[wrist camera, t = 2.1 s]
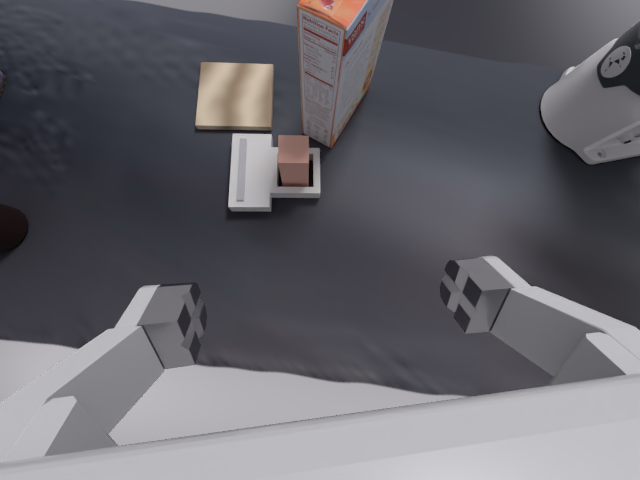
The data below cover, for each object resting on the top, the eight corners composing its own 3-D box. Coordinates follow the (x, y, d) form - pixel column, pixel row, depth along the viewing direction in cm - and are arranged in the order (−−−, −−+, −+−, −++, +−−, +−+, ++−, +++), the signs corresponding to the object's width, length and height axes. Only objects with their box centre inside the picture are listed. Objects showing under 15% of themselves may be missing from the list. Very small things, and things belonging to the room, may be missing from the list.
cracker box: (340, 73, 49) (364, -91, 28) (370, 88, 48) (416, -66, 28) (299, 133, 46) (293, -1, 26) (330, 150, 46) (350, 28, 25)
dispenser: (319, 142, 46) (319, 134, 43) (319, 211, 43) (320, 206, 41) (235, 140, 45) (232, 132, 43) (231, 211, 42) (227, 206, 40)
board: (273, 69, 48) (273, 64, 47) (271, 130, 46) (271, 126, 45) (203, 67, 48) (201, 62, 47) (197, 129, 45) (195, 125, 44)
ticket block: (308, 164, 45) (308, 135, 37) (308, 187, 44) (308, 163, 36) (283, 164, 45) (278, 135, 37) (283, 187, 44) (278, 162, 36)
